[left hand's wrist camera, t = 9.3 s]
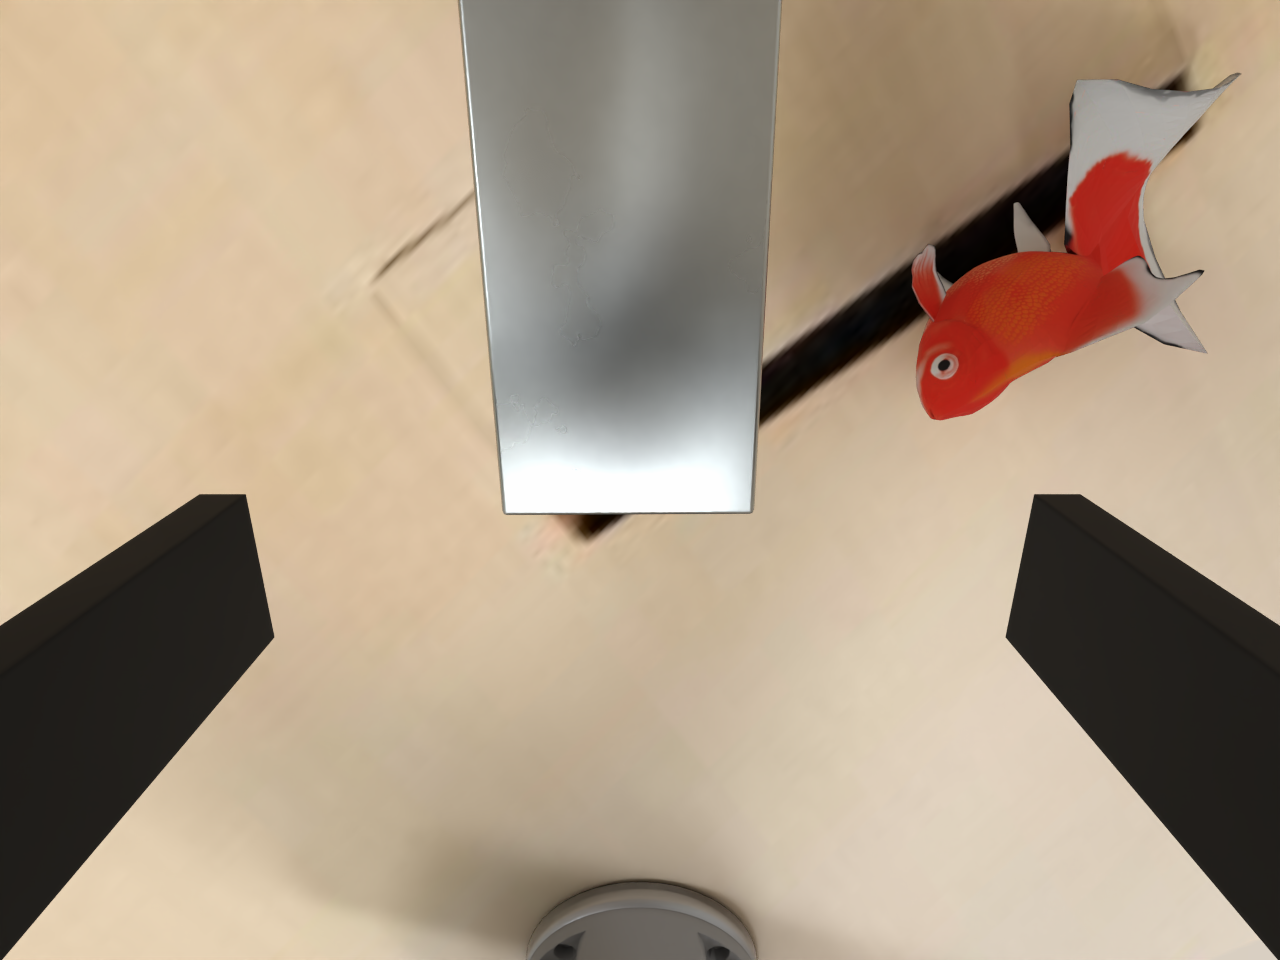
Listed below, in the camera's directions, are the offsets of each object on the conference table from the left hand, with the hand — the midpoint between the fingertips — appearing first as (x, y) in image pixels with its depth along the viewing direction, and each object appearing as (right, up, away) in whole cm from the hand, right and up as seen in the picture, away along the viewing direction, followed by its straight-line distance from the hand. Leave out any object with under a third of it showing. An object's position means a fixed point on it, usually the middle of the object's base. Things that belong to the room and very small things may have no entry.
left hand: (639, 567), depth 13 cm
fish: (+16, +12, +19) cm, 28 cm away
